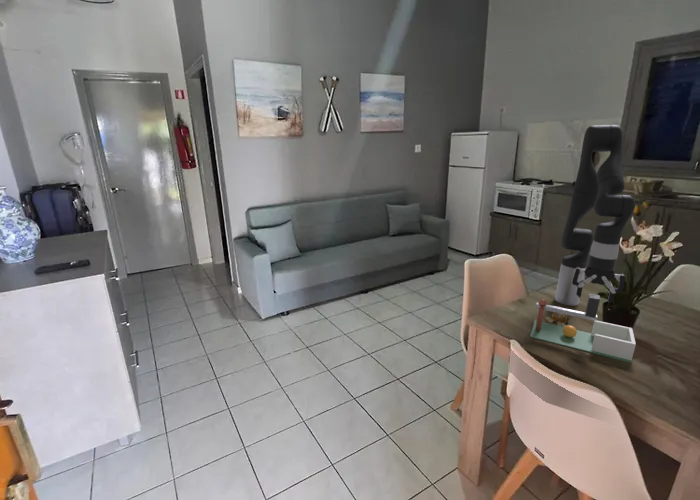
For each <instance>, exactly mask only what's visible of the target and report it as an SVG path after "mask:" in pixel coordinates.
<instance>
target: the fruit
mask: <svg viewBox="0 0 700 500" xmlns="http://www.w3.org/2000/svg"><path fill="white" fill-rule="evenodd" d="M544 320H545V321H546V323H550V324H552V323H553V322H556V325H557V326H562V327H565V326H567V325H566V323H569V322H570V321H569V320H570V318H569V315H566V314H561V313H556V312H552V315H551V317H550V316H546V317H545V318H544Z"/></svg>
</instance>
